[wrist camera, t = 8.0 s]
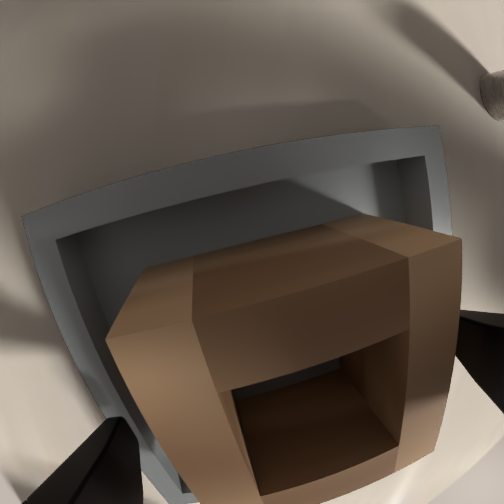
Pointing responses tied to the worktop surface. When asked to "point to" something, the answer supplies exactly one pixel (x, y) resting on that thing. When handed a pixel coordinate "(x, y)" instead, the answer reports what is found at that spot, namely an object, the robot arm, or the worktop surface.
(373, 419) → the brown square socket block
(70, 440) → the worktop surface
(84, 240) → the tray
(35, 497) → the robot arm
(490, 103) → the post
